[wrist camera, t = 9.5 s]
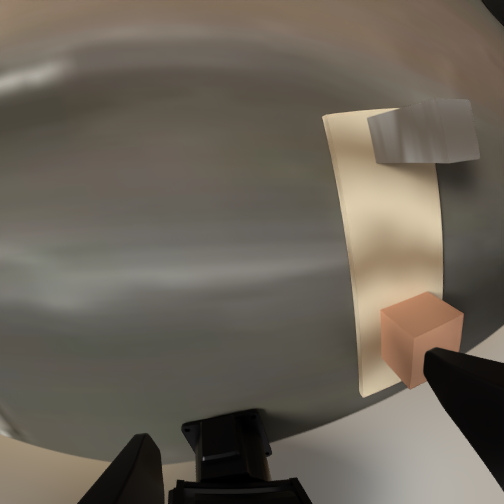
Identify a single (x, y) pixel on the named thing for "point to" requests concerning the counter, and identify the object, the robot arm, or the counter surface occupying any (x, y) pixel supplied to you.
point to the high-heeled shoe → (496, 8)
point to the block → (417, 334)
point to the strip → (394, 209)
